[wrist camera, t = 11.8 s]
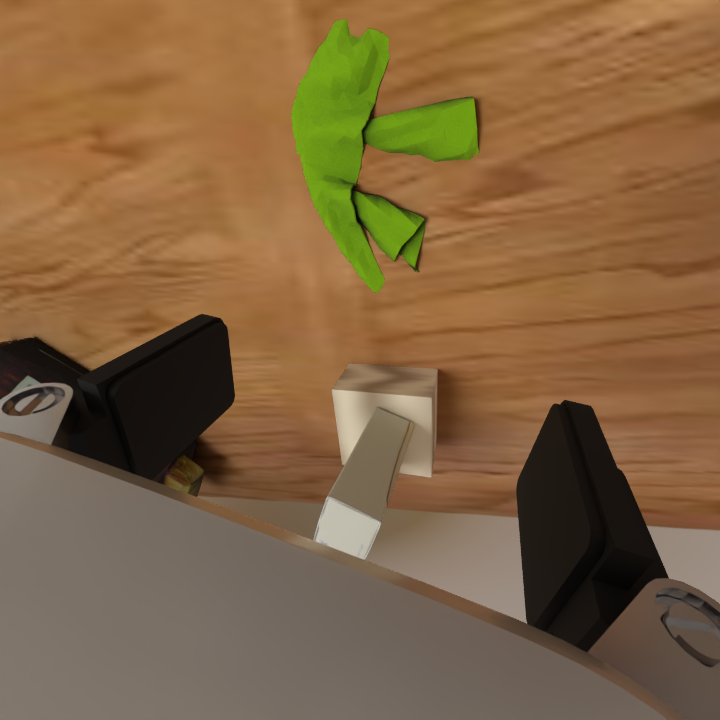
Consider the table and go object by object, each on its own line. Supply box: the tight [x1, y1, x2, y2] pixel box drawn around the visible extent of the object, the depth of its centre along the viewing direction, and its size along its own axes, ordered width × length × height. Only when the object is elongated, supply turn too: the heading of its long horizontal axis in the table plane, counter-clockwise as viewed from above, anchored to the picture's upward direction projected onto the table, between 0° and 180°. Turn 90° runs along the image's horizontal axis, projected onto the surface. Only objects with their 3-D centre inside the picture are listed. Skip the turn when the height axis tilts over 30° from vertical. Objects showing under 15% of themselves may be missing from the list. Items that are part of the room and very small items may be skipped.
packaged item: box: [0, 338, 205, 497], centre depth 53 cm, size 39×10×10 cm, turn 62°
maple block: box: [332, 363, 438, 477], centre depth 39 cm, size 10×10×6 cm
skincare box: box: [313, 408, 415, 560], centre depth 32 cm, size 6×4×12 cm
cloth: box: [291, 19, 479, 293], centre depth 31 cm, size 20×22×2 cm
